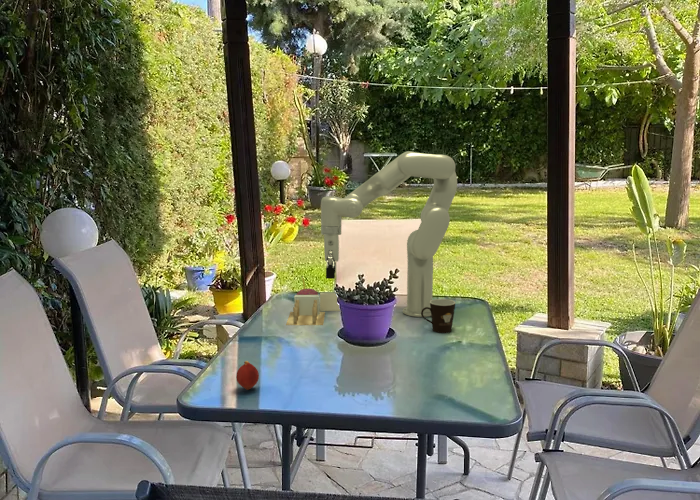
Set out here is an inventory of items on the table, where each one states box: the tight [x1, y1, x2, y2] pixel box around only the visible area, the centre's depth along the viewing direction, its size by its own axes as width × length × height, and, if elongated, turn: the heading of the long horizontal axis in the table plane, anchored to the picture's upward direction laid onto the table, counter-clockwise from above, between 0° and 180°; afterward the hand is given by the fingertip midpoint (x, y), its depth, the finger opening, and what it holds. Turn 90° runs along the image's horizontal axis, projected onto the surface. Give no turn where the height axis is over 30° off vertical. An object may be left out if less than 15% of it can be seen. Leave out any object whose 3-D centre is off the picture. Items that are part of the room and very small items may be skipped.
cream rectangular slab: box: [319, 292, 341, 312], centre depth 241 cm, size 9×3×8 cm, turn 90°
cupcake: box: [295, 275, 319, 295], centre depth 251 cm, size 9×8×12 cm
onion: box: [236, 360, 259, 391], centre depth 169 cm, size 6×6×8 cm
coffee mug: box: [421, 298, 456, 334], centre depth 220 cm, size 12×9×10 cm
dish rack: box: [285, 300, 326, 326], centre depth 230 cm, size 13×17×8 cm
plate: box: [293, 294, 321, 315], centre depth 235 cm, size 9×3×7 cm, turn 90°
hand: (330, 275), depth 239 cm, fingers open, 9 cm apart
